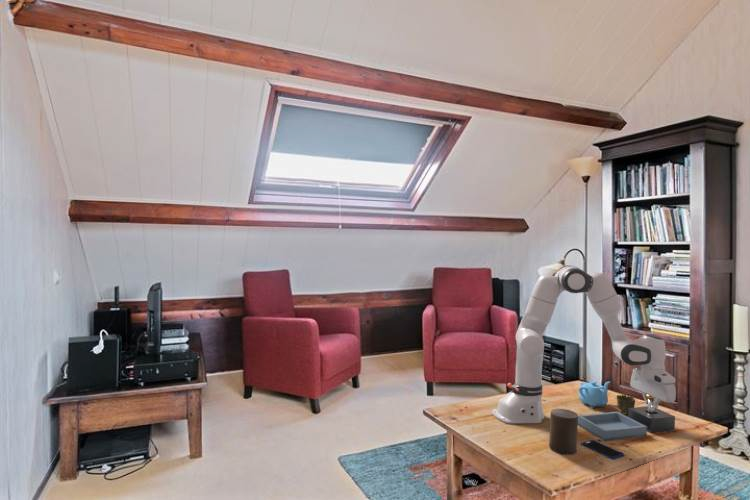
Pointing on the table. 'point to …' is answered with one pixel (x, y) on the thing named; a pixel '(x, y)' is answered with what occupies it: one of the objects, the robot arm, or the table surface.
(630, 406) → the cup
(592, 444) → the cell phone
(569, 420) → the pillar candle
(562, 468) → the table surface
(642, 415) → the block
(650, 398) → the pin
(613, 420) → the tray
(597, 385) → the teapot
